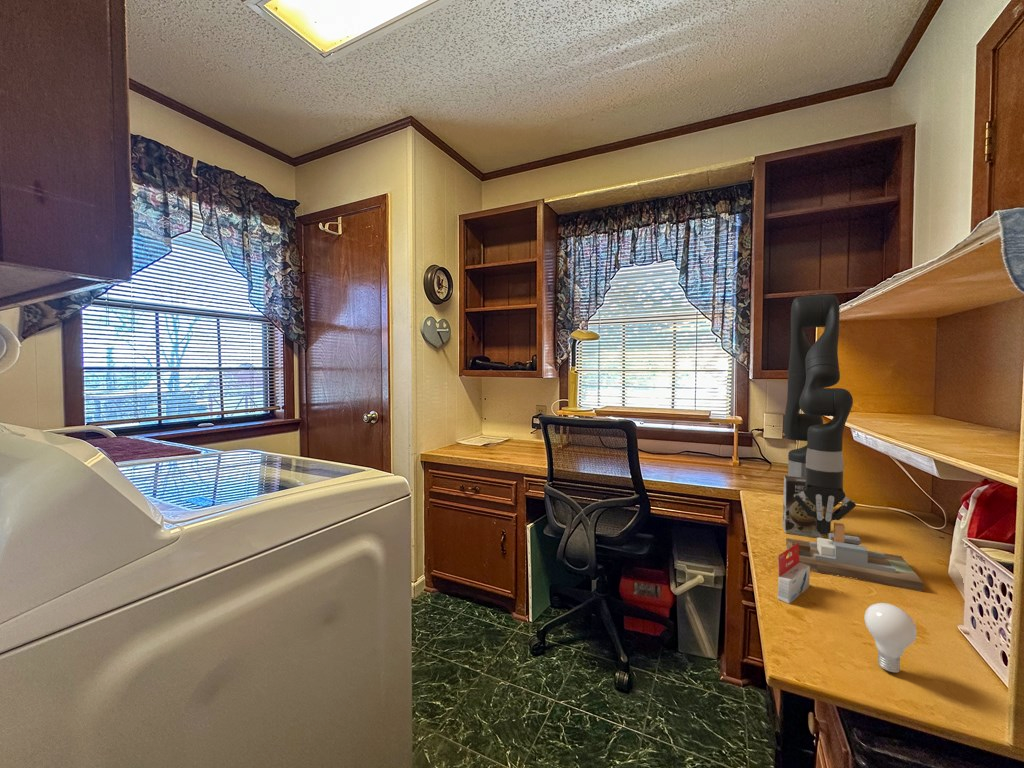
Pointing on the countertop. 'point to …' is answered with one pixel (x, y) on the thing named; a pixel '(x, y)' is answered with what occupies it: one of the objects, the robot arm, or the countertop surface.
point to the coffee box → (797, 510)
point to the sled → (827, 545)
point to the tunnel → (853, 554)
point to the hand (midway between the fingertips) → (822, 533)
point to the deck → (861, 568)
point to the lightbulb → (890, 633)
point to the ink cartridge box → (792, 575)
